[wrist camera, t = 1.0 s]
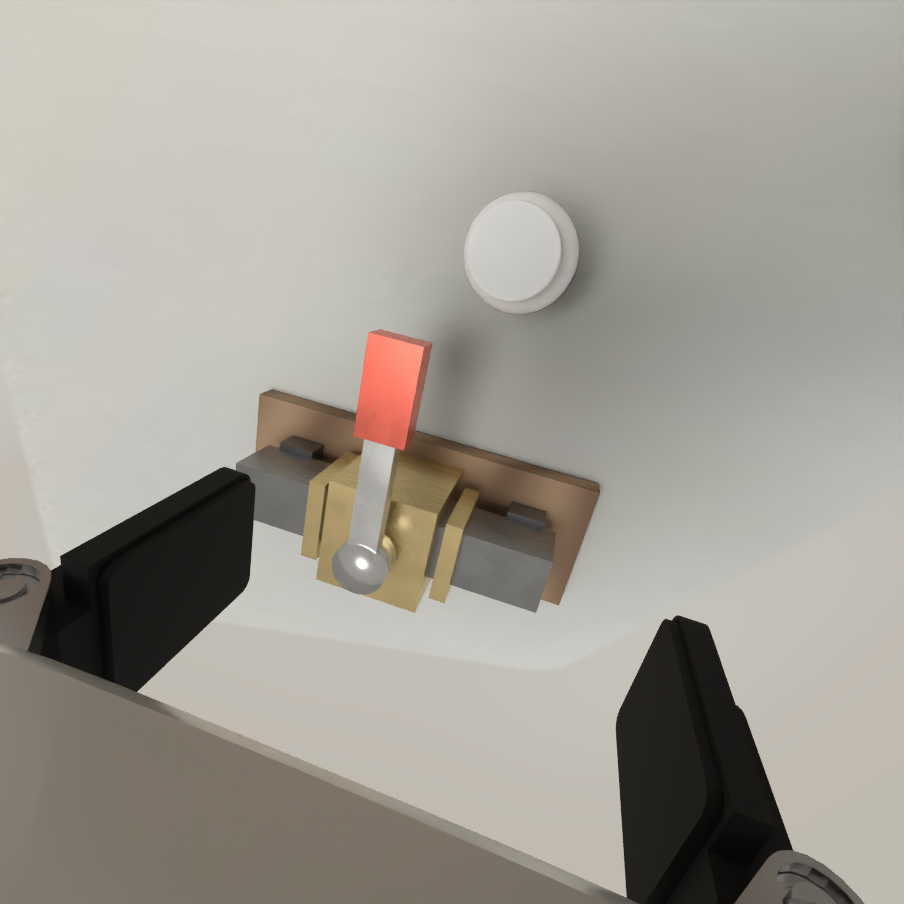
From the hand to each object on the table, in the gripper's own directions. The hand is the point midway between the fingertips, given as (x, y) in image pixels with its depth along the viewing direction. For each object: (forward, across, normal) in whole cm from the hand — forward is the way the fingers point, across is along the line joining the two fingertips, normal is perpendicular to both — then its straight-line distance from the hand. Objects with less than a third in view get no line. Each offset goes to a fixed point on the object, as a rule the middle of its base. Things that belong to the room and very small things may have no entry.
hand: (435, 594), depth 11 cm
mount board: (+23, +6, +10) cm, 26 cm away
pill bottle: (+23, +2, -7) cm, 24 cm away
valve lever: (+14, +6, +4) cm, 16 cm away
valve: (+21, +6, +10) cm, 24 cm away
